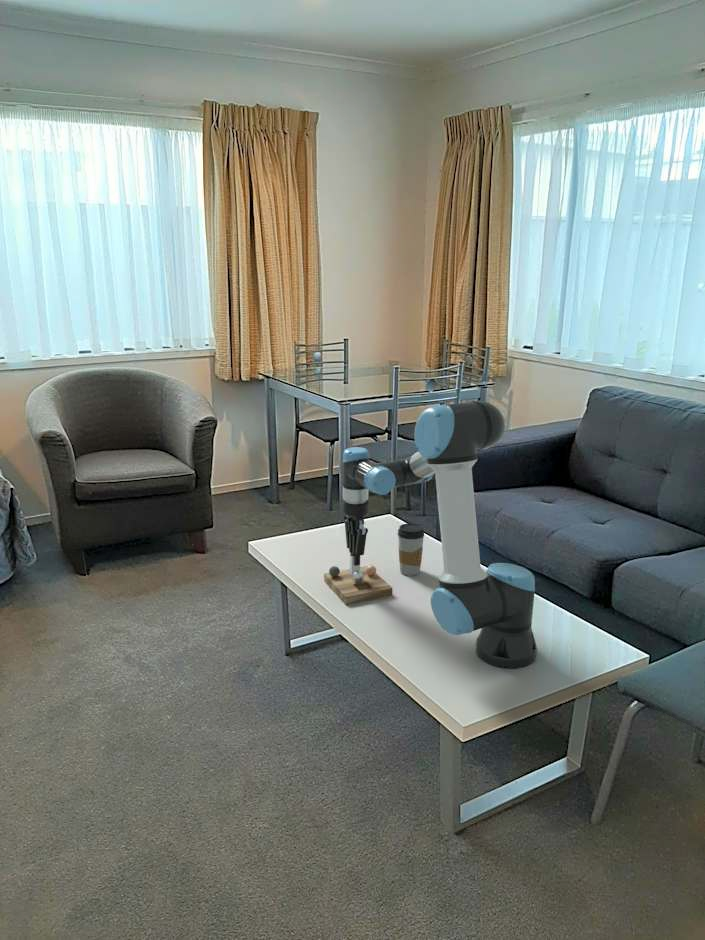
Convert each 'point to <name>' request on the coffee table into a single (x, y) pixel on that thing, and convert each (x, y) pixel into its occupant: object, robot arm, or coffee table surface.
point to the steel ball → (358, 575)
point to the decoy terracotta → (370, 570)
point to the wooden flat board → (358, 586)
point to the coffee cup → (410, 548)
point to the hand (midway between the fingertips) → (355, 573)
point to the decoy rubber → (334, 571)
